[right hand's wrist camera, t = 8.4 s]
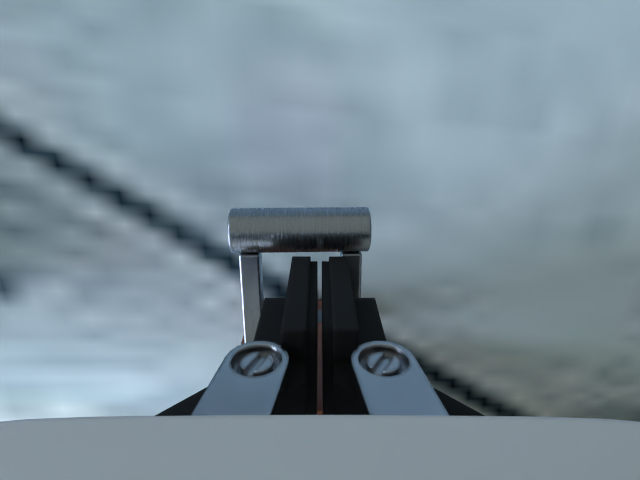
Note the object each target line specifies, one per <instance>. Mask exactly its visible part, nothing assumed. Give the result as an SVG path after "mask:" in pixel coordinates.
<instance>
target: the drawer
mask: <svg viewBox="0 0 640 480" xmlns="http://www.w3.org/2000/svg"><path fill="white" fill-rule="evenodd" d="M228 241H229V247H230V250H231V252H233V253H240V255H239V264H240V279H241V294H242V310H243V325H244V336H243V339H242V343H241V345H242V344H244V343H247V342H253V341H254V337H255V333H256V330H257V326H258V322H259V318H260V314H261V310H262V307H263V303H264V297H263V276H262V255H261V253H266V252H340V257H347V260H348V266H349V272H350V278H351V284H352V290H353V296H354V298H361V266H362V254H361V252H360V251H368V250H369V248H370V244H371V216H370V211H369V208H367V207H329V208H233V209H231V210H230V213H229V218H228ZM317 303H318V356H317V415H323V401H322V300H317Z"/></svg>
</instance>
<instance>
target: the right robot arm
mask: <svg viewBox="0 0 640 480" xmlns="http://www.w3.org/2000/svg"><path fill="white" fill-rule="evenodd" d="M317 356H318V303H317V261H311V260H310V257H292V263H291V269H290V275H289V281H288V287H287V294H286V298H265V299H264V303H263V307H262V310H261V314H260V318H259V322H258V326H257V330H256V333H255V337H254V341H253V342H247V343H244V344H242V345H239V346H237V347H236V348H234V349H233V350H231V351H230V352H229V353H228V354H227V355H226V357H225V358H224V360H223V362H222V363H221V365H220V367H219V368H218V370H217V372H216V374H215V375H214V377H213V379H212V380H211V382H210V384H209V385H208V387H207V388H205V389H203V390H201V391H199V392H197V393H196V394H194V395H192V396H190V397H188V398H187V399H185V400H183V401H181V402H179V403H177V404H176V405H174V406H172V407H170V408H168V409H166V410H165V411H163V412H161V413H159V414H157V415H156V416H121V417H74V418H46V419H24V420H13V421H3V422H0V480H640V422H637V421H627V420H616V419H594V418H566V417H526V416H484V415H482V414H480V413H479V412H477V411H475V410H473V409H471V408H469V407H468V406H466V405H464V404H462V403H460V402H458V401H457V400H455V399H453V398H451V397H449V396H448V395H446V394H444V393H442V392H440V391H438V390H437V389H435V388H433V387H432V385H431V384H430V382H429V380H428V379H427V377H426V375H425V374H424V372H423V370H422V368H421V367H420V365H419V363H418V362H417V360H416V358H415V357H414V355H413V354H412V353H411V352H410V351H409V350H407V349H406V348H404V347H403V346H401V345H398V344H396V343H393V342H387V341H386V339H385V335H384V331H383V327H382V324H381V320H380V316H379V312H378V308H377V305H376V301H375V298H354V296H353V290H352V284H351V278H350V272H349V266H348V260H347V257H329V261H322V401H323V415H317Z"/></svg>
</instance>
